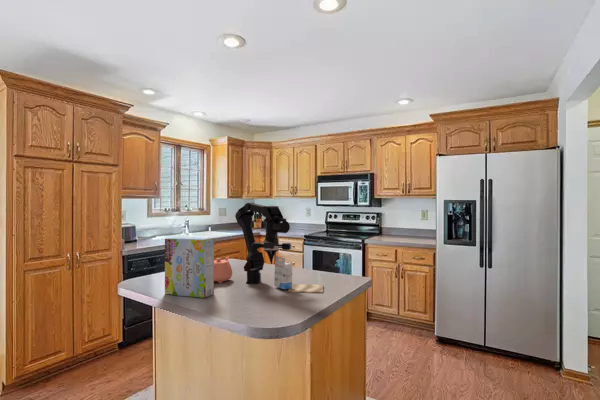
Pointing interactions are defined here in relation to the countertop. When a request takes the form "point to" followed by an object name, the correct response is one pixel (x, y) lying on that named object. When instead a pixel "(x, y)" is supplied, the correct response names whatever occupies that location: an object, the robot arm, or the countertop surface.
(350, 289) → the countertop surface
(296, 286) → the cork trivet
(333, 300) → the countertop surface
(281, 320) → the countertop surface
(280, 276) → the ink box
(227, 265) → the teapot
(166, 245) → the snack box
